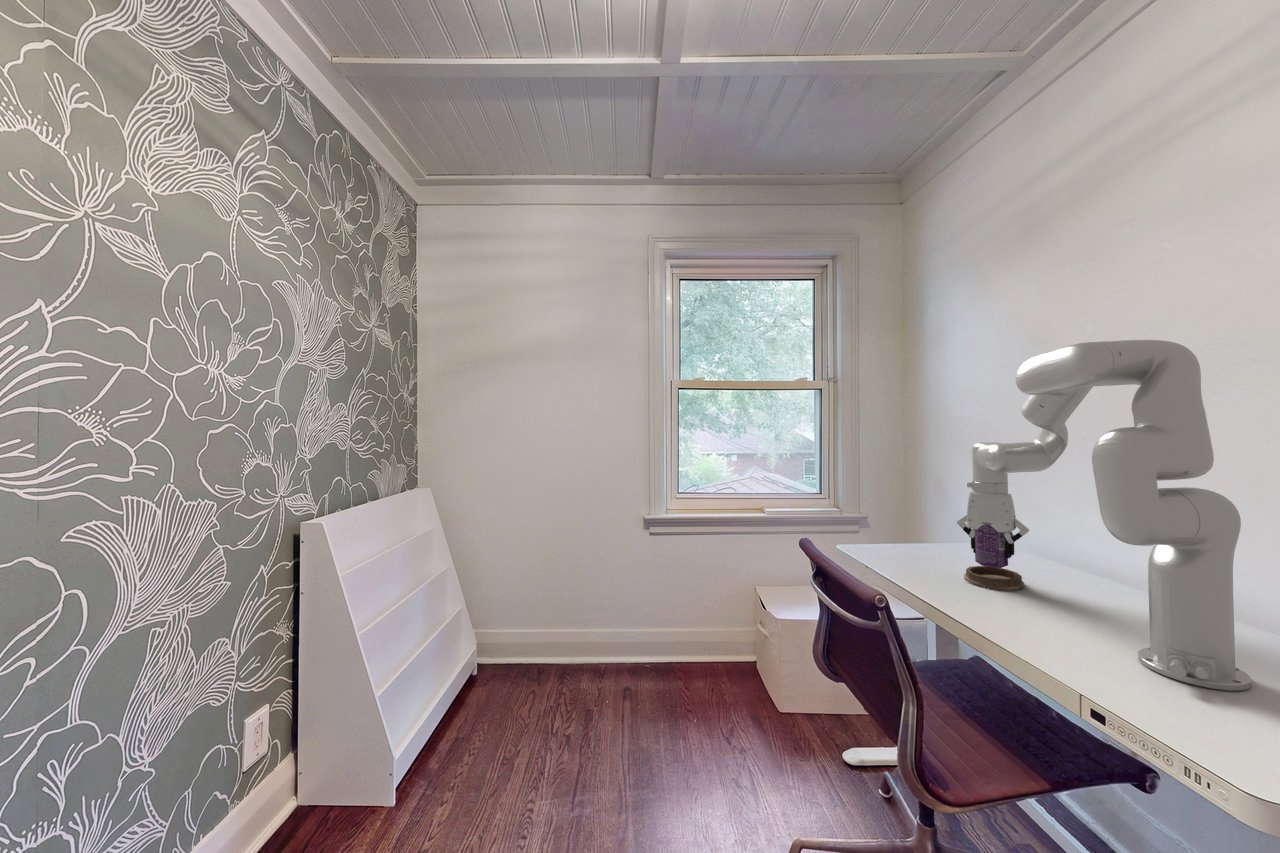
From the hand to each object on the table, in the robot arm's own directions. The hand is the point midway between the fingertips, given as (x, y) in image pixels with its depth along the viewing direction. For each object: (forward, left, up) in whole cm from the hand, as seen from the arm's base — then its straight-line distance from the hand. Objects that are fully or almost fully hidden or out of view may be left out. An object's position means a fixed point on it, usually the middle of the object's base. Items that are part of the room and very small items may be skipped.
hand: (992, 553), depth 126 cm
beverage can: (0, 0, -3) cm, 3 cm away
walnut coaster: (0, 0, -8) cm, 8 cm away
